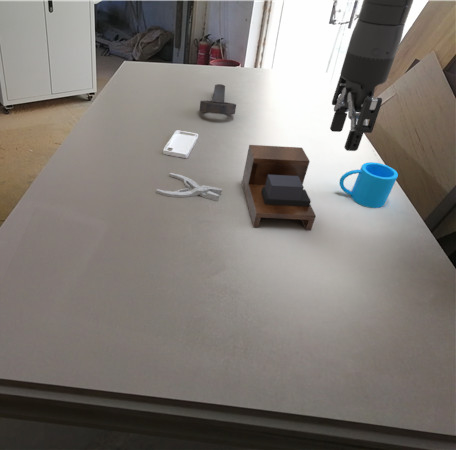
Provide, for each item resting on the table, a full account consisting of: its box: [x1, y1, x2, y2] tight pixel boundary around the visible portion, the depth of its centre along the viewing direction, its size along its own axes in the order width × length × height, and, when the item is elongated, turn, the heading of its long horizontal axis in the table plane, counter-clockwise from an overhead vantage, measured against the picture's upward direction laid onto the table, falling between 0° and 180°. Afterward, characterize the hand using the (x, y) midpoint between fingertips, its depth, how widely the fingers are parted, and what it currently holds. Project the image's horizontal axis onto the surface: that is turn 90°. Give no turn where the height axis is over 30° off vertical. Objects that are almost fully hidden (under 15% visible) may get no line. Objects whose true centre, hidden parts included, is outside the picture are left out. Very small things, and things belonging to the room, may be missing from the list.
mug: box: [338, 162, 399, 209], centre depth 100 cm, size 12×8×8 cm
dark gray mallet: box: [199, 83, 237, 115], centre depth 146 cm, size 12×8×30 cm
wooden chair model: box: [241, 144, 316, 231], centre depth 95 cm, size 13×19×11 cm
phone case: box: [162, 129, 199, 159], centre depth 121 cm, size 7×1×15 cm
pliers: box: [156, 172, 223, 202], centre depth 101 cm, size 10×2×15 cm
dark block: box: [261, 174, 312, 207], centre depth 92 cm, size 10×5×5 cm, turn 88°
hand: (342, 140), depth 78 cm, fingers open, 8 cm apart
